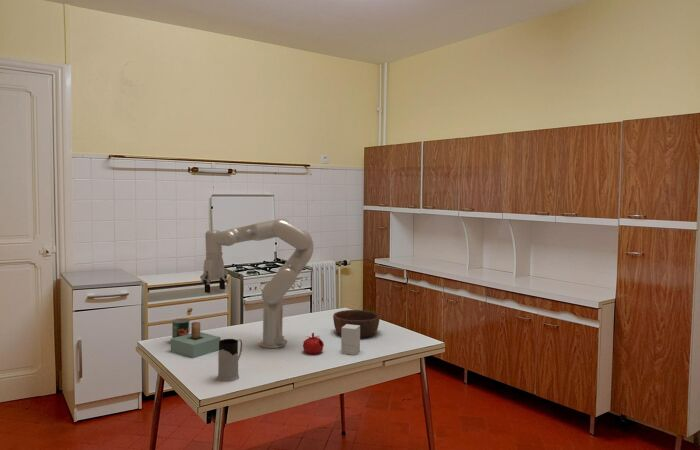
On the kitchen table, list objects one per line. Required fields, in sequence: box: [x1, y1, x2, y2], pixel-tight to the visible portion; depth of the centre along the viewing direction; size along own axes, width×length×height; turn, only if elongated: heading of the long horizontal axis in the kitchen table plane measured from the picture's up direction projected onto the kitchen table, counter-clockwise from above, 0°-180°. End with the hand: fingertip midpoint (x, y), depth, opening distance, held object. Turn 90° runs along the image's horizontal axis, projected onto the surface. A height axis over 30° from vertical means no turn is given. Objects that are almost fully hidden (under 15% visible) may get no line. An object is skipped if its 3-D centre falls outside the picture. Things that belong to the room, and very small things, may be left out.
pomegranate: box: [302, 332, 325, 355], centre depth 252 cm, size 10×10×9 cm
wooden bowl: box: [332, 309, 381, 339], centre depth 286 cm, size 25×25×10 cm
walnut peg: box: [190, 321, 201, 340], centre depth 251 cm, size 4×4×12 cm
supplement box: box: [340, 324, 361, 356], centre depth 253 cm, size 7×7×13 cm
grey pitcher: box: [216, 338, 243, 383], centre depth 218 cm, size 9×14×15 cm, turn 159°
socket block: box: [170, 331, 221, 359], centre depth 251 cm, size 16×16×6 cm
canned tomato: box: [171, 318, 190, 338], centre depth 263 cm, size 8×8×11 cm
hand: (215, 290), depth 259 cm, fingers open, 9 cm apart
